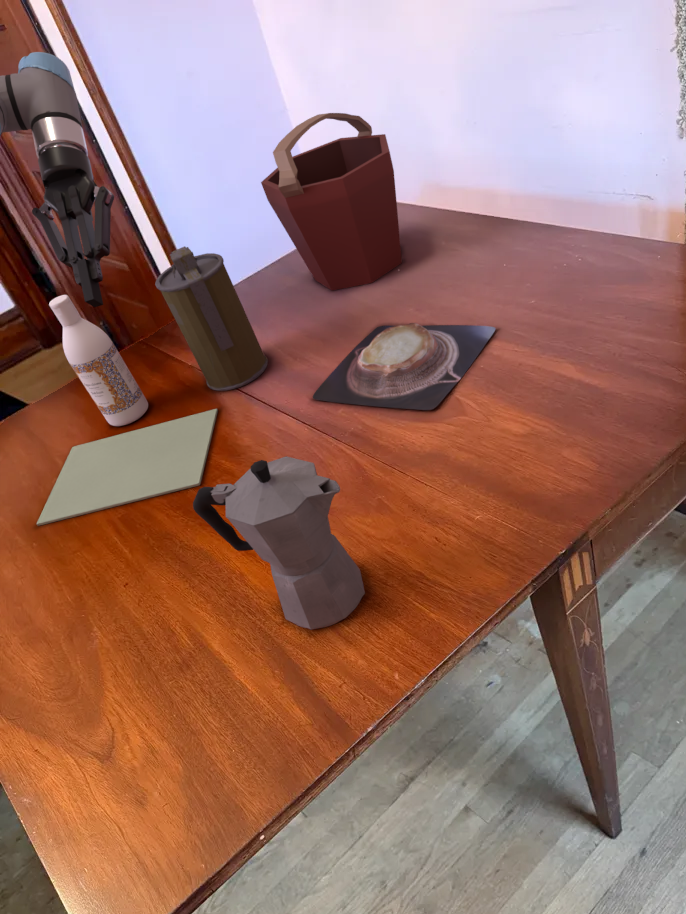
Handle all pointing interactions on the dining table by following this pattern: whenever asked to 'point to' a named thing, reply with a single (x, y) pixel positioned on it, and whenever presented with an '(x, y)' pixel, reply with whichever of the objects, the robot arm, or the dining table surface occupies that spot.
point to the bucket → (338, 204)
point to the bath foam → (99, 366)
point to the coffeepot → (289, 537)
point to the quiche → (405, 366)
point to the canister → (212, 319)
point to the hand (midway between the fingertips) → (94, 303)
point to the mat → (131, 467)
